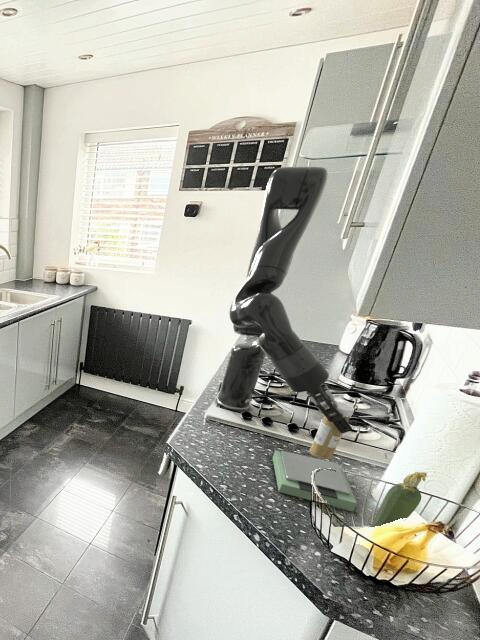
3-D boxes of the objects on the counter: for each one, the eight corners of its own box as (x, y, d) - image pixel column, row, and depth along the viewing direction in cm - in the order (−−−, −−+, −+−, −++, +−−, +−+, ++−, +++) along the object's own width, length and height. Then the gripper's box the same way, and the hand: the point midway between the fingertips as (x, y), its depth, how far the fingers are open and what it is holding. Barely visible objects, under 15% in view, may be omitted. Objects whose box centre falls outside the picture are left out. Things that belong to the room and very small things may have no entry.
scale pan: (279, 452, 111) (280, 450, 111) (336, 466, 106) (338, 463, 106) (285, 479, 101) (286, 477, 101) (349, 495, 96) (350, 493, 96)
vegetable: (356, 539, 87) (398, 459, 79) (382, 545, 86) (428, 464, 77) (365, 554, 84) (410, 472, 75) (392, 561, 82) (442, 478, 74)
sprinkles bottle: (333, 462, 98) (357, 411, 92) (309, 456, 100) (331, 406, 94) (330, 452, 101) (352, 403, 96) (307, 447, 103) (327, 398, 98)
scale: (272, 457, 113) (275, 449, 112) (337, 473, 107) (341, 465, 106) (278, 492, 101) (282, 483, 100) (353, 512, 95) (357, 503, 93)
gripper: (323, 369, 88) (373, 433, 88) (311, 348, 100) (355, 405, 100) (284, 386, 93) (332, 447, 93) (277, 365, 104) (320, 419, 104)
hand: (344, 425), depth 96 cm, fingers closed on sprinkles bottle, 4 cm apart
